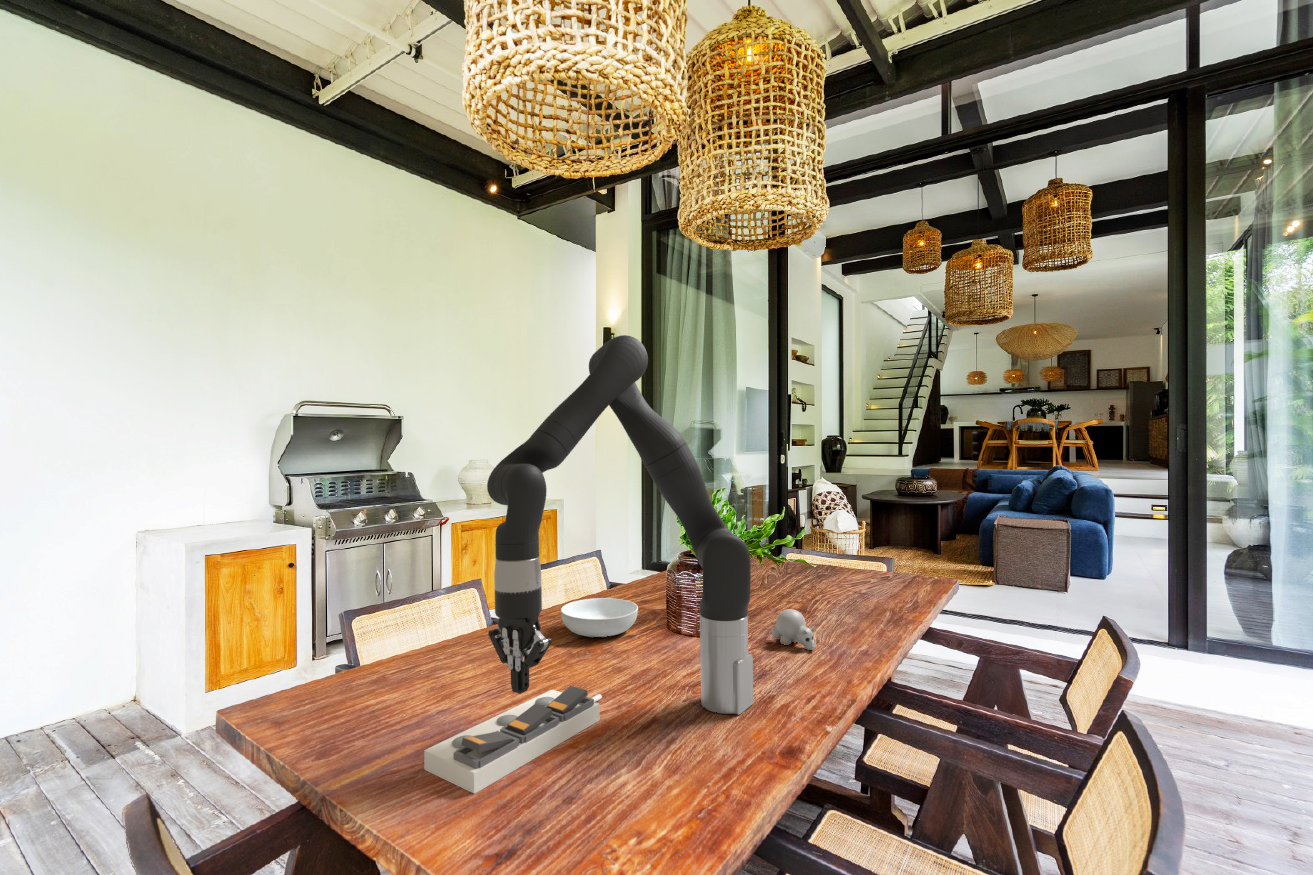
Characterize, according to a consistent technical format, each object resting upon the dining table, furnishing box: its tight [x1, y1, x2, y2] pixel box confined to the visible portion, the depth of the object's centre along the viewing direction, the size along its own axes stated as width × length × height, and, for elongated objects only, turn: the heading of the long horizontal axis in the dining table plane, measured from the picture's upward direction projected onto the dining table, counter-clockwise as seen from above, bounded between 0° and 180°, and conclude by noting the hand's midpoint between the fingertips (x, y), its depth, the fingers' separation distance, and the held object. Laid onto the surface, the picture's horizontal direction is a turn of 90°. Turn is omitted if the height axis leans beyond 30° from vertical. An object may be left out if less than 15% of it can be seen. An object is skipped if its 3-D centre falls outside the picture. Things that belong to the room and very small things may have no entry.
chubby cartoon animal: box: [771, 608, 817, 651], centre depth 149 cm, size 7×12×8 cm, turn 33°
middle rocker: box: [507, 704, 553, 735], centre depth 100 cm, size 6×4×1 cm, turn 146°
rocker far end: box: [462, 732, 512, 752], centre depth 93 cm, size 6×4×1 cm, turn 145°
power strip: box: [423, 689, 603, 795], centre depth 105 cm, size 36×12×4 cm, turn 145°
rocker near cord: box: [547, 685, 589, 714], centre depth 108 cm, size 6×4×1 cm, turn 146°
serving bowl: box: [560, 597, 639, 638], centre depth 162 cm, size 21×21×7 cm
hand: (520, 691), depth 98 cm, fingers closed
